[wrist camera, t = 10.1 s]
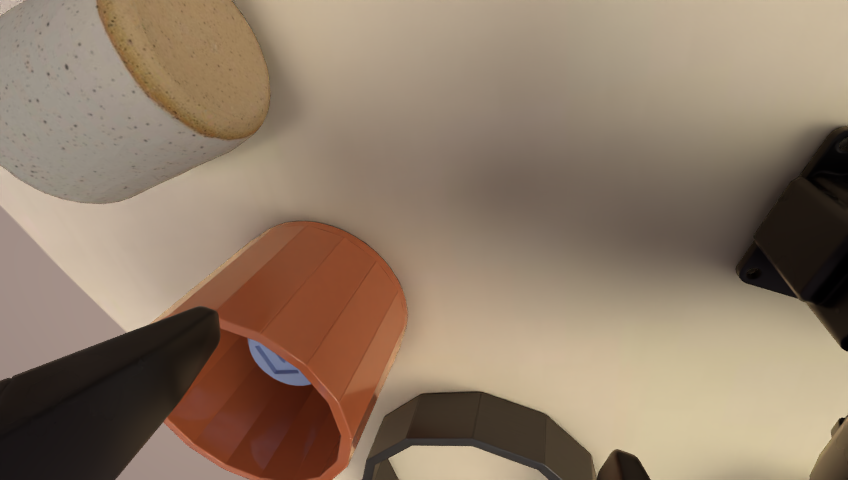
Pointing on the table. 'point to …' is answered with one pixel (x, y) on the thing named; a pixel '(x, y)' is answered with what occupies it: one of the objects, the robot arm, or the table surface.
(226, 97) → the ceramic mug
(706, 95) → the table surface
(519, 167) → the table surface
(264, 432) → the terracotta cup
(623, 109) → the table surface
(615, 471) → the robot arm
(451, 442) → the dark grey ring
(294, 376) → the decorative dice
